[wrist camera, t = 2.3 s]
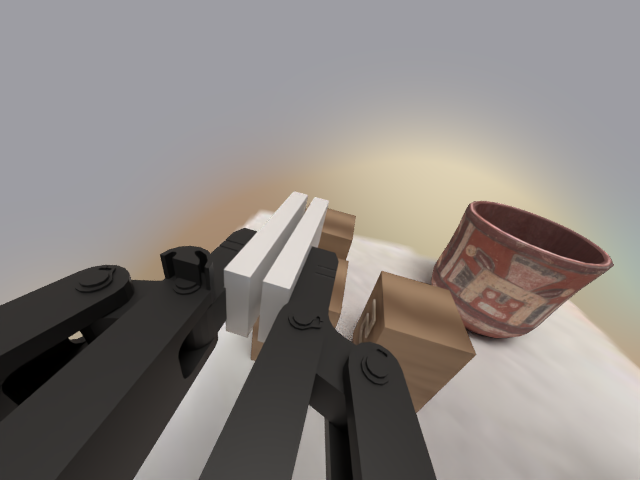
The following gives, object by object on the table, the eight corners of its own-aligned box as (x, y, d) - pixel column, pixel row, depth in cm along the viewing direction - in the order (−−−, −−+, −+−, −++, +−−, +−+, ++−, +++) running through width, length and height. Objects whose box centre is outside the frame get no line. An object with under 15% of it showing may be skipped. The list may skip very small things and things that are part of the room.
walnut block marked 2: (351, 332, 33) (380, 270, 27) (407, 349, 33) (449, 290, 26) (346, 390, 26) (382, 326, 20) (416, 412, 26) (476, 354, 20)
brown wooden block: (275, 308, 34) (284, 242, 27) (326, 324, 33) (348, 261, 27) (250, 359, 27) (255, 288, 21) (315, 380, 27) (340, 313, 20)
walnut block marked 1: (298, 258, 45) (308, 203, 38) (338, 270, 44) (355, 216, 38) (284, 285, 38) (295, 224, 32) (332, 300, 38) (352, 240, 31)
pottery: (408, 268, 50) (450, 191, 40) (485, 284, 50) (544, 212, 41) (437, 342, 35) (515, 249, 25) (545, 363, 36) (661, 281, 26)
